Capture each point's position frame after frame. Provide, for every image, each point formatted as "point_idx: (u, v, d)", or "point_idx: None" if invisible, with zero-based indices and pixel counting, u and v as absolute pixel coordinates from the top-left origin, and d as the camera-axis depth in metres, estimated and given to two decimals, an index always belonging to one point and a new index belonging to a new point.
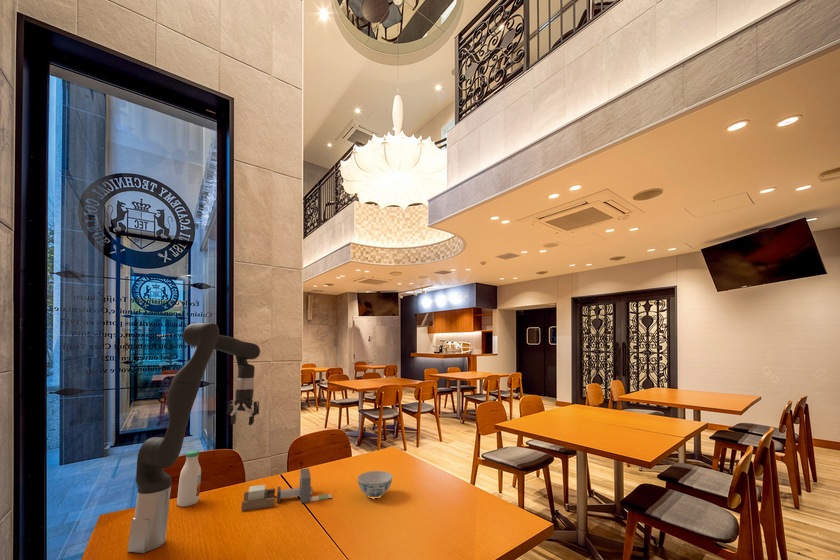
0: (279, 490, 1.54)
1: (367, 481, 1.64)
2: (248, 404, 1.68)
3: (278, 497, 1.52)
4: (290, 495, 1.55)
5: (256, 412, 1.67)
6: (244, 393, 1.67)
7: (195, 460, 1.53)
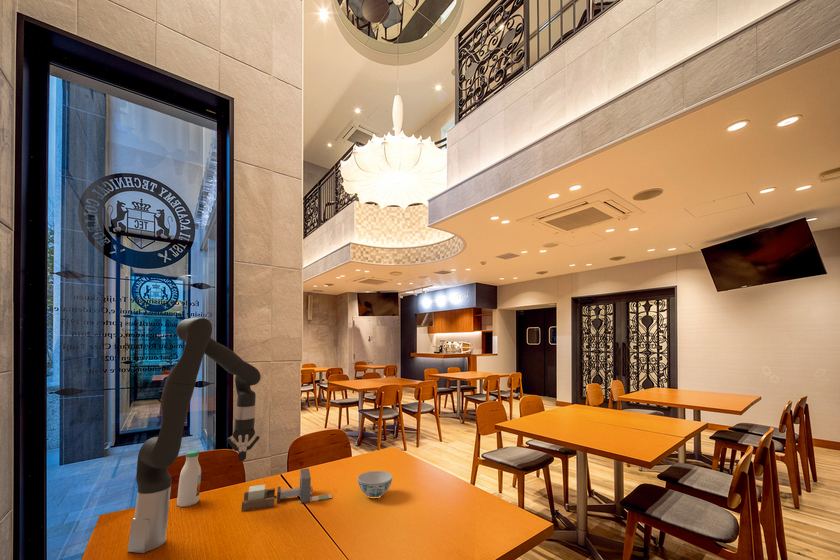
0: (279, 490, 1.54)
1: (367, 481, 1.64)
2: (250, 438, 1.53)
3: (278, 497, 1.52)
4: (290, 495, 1.55)
5: (251, 447, 1.53)
6: (249, 423, 1.52)
7: (195, 460, 1.53)
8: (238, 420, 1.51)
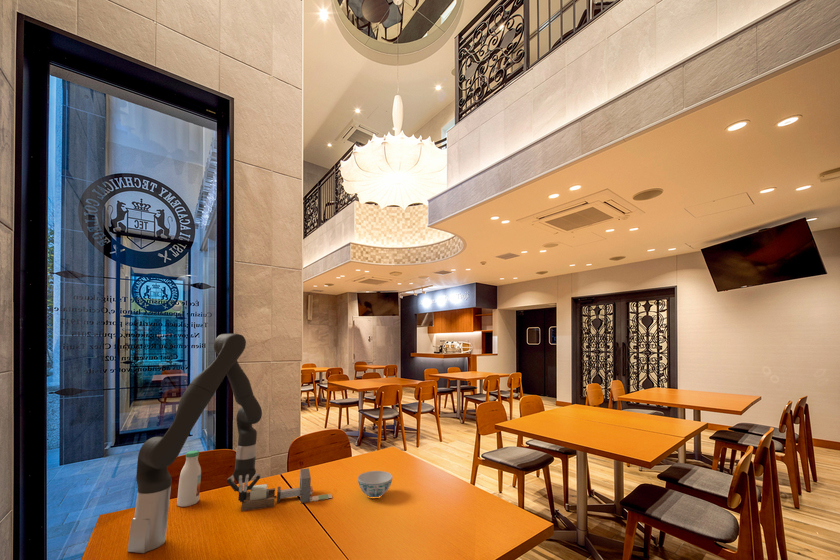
0: (279, 490, 1.54)
1: (367, 481, 1.64)
2: (251, 477, 1.51)
3: (278, 497, 1.52)
4: (290, 495, 1.55)
5: (252, 487, 1.51)
6: (249, 463, 1.50)
7: (195, 460, 1.53)
8: (239, 460, 1.49)
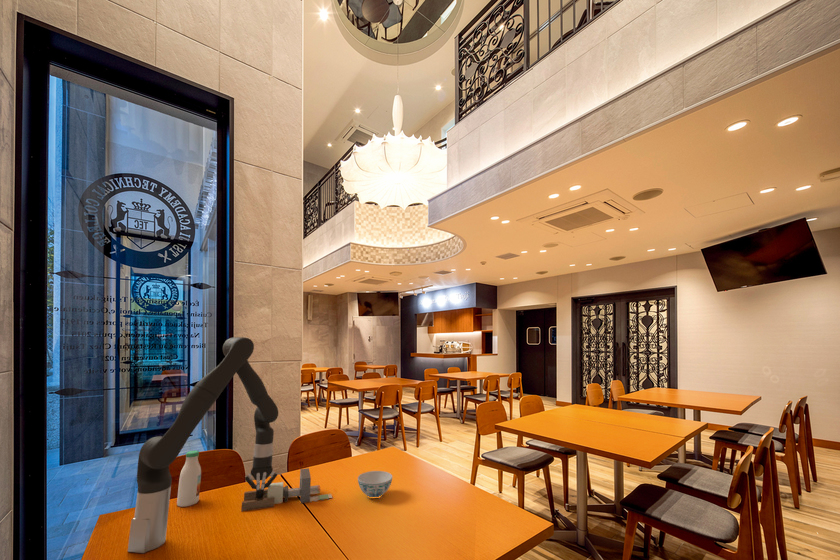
0: (287, 489, 1.55)
1: (367, 481, 1.64)
2: (268, 475, 1.53)
3: (286, 496, 1.53)
4: (298, 494, 1.56)
5: None
6: (267, 461, 1.52)
7: (195, 460, 1.53)
8: (256, 458, 1.51)
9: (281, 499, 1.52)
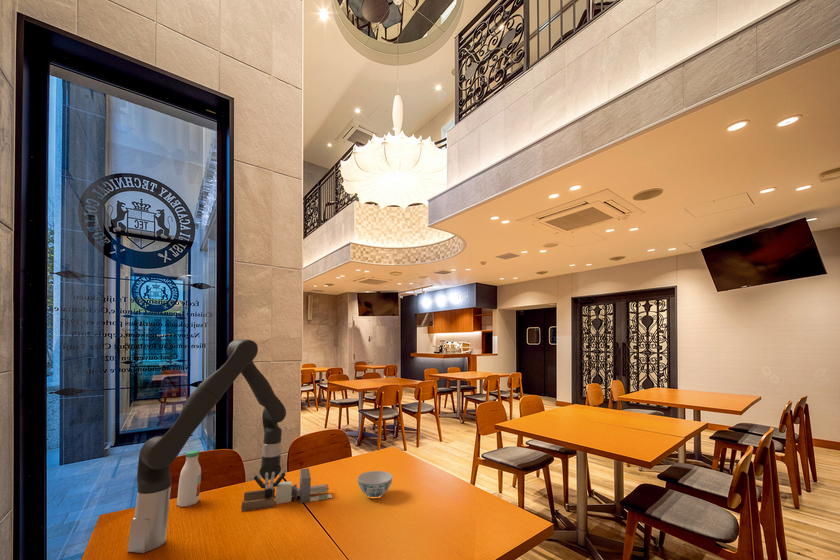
0: (295, 488, 1.56)
1: (367, 481, 1.64)
2: (276, 475, 1.54)
3: (295, 495, 1.54)
4: None
5: (277, 484, 1.54)
6: (275, 461, 1.53)
7: (195, 460, 1.53)
8: (265, 457, 1.52)
9: (290, 498, 1.53)
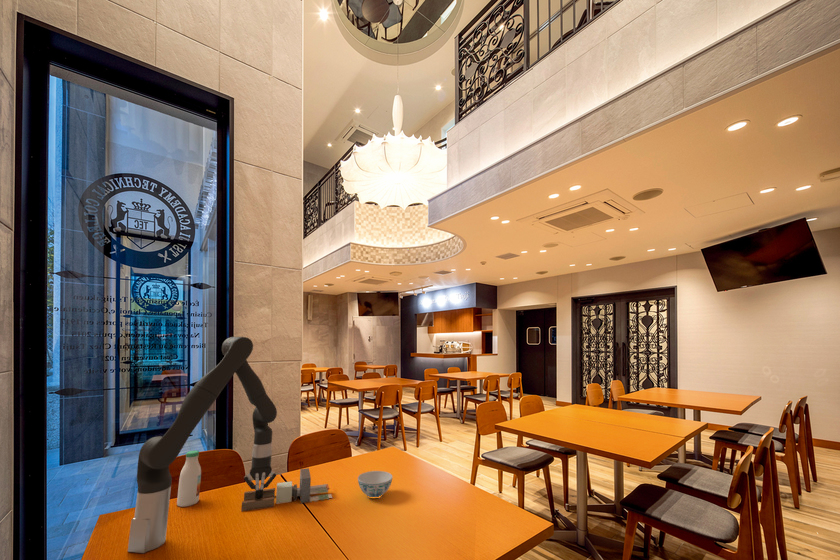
0: (296, 488, 1.56)
1: (367, 481, 1.64)
2: (267, 475, 1.53)
3: (295, 495, 1.54)
4: None
5: (268, 485, 1.53)
6: (266, 461, 1.52)
7: (195, 460, 1.53)
8: (255, 458, 1.51)
9: (290, 498, 1.53)
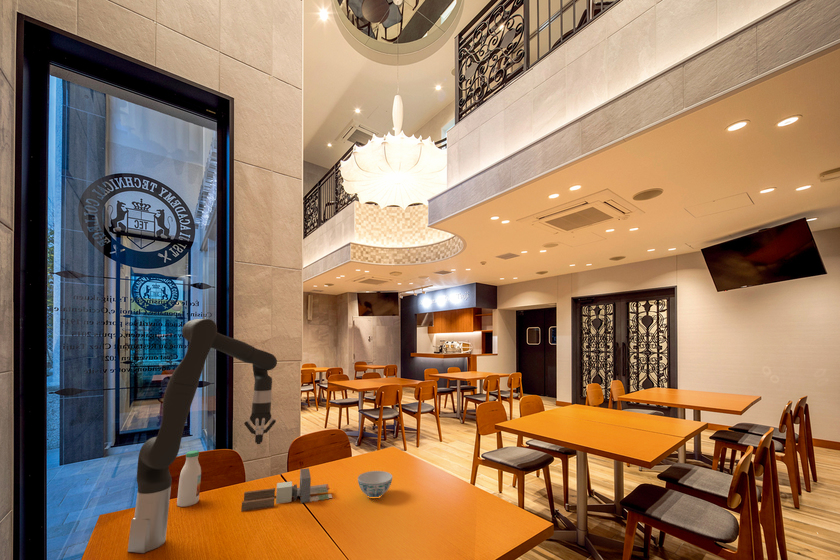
0: (296, 488, 1.56)
1: (367, 481, 1.64)
2: (266, 421, 1.57)
3: (295, 495, 1.54)
4: None
5: (268, 430, 1.56)
6: (265, 407, 1.55)
7: (195, 460, 1.53)
8: (255, 403, 1.54)
9: (290, 498, 1.53)
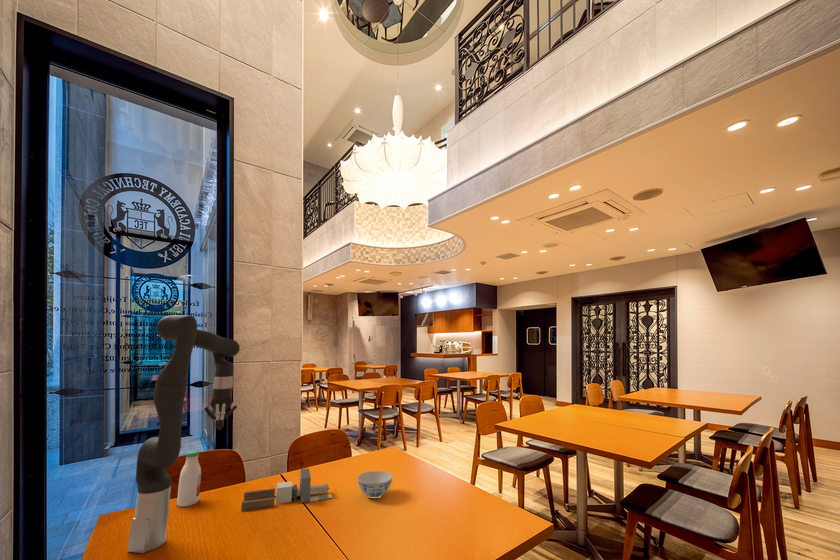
0: (296, 488, 1.56)
1: (367, 481, 1.64)
2: (227, 407, 1.58)
3: (295, 495, 1.54)
4: None
5: (228, 416, 1.58)
6: (226, 393, 1.57)
7: (195, 460, 1.53)
8: (215, 389, 1.56)
9: (290, 498, 1.53)
